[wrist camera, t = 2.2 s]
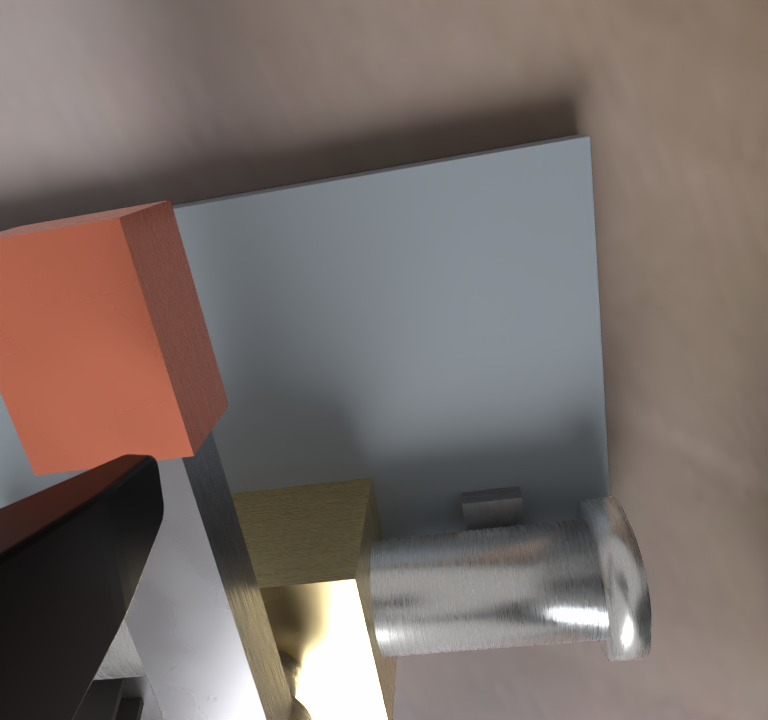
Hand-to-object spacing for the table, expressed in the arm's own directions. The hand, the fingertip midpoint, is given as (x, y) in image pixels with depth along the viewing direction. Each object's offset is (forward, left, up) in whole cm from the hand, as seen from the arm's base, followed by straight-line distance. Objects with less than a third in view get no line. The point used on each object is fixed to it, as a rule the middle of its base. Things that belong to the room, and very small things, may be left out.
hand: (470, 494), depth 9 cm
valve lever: (+7, +3, -5) cm, 9 cm away
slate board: (+7, +5, -13) cm, 16 cm away
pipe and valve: (+7, +9, -11) cm, 16 cm away
